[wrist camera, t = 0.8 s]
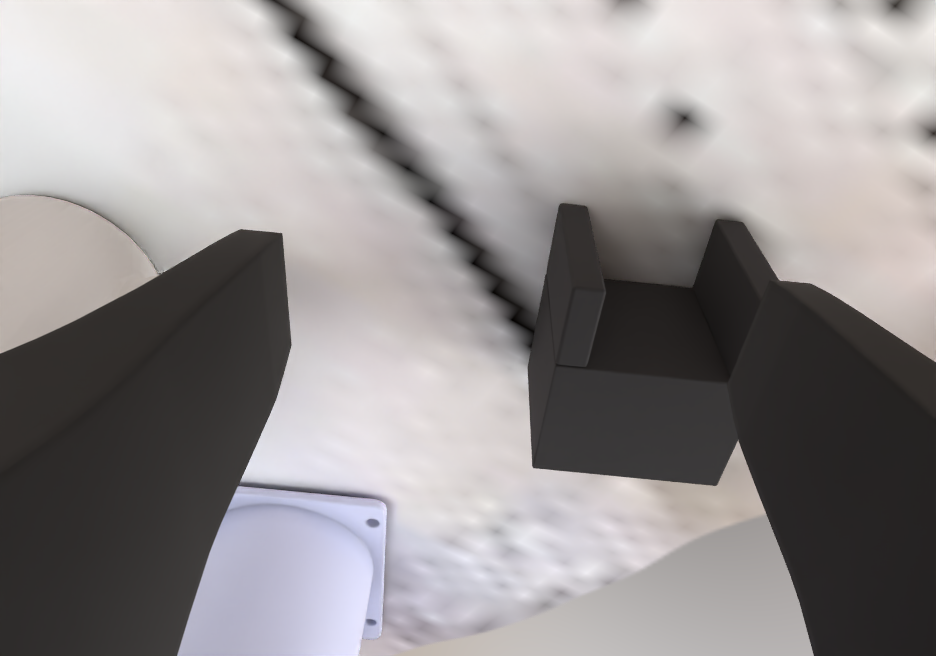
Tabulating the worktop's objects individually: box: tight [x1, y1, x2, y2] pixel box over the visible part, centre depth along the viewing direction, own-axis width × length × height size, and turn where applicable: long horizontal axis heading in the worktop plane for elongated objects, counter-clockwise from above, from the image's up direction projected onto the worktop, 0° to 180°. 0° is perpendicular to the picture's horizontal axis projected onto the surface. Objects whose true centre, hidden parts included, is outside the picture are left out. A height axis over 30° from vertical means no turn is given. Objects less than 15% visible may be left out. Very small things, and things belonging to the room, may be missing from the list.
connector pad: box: [528, 204, 779, 486], centre depth 19 cm, size 6×5×4 cm
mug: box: [0, 195, 159, 353], centre depth 17 cm, size 11×8×10 cm
